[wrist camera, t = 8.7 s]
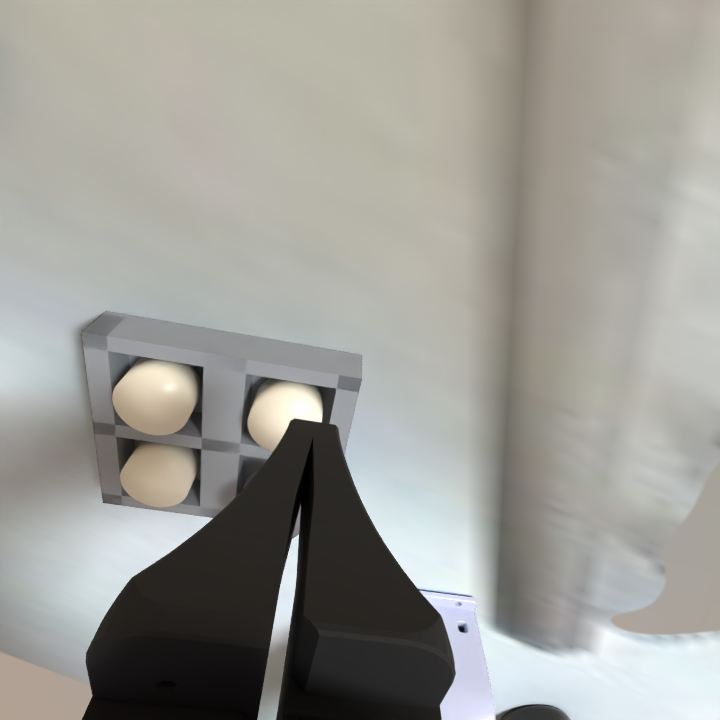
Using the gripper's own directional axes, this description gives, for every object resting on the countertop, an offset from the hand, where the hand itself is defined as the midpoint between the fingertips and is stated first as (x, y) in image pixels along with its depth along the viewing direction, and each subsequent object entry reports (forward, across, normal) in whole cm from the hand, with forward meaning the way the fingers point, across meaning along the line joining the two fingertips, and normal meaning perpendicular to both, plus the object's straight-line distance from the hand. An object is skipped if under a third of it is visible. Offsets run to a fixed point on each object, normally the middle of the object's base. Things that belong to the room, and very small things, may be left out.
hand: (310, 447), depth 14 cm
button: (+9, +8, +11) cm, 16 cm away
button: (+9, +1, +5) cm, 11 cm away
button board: (+10, +4, +8) cm, 14 cm away
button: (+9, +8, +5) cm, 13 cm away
